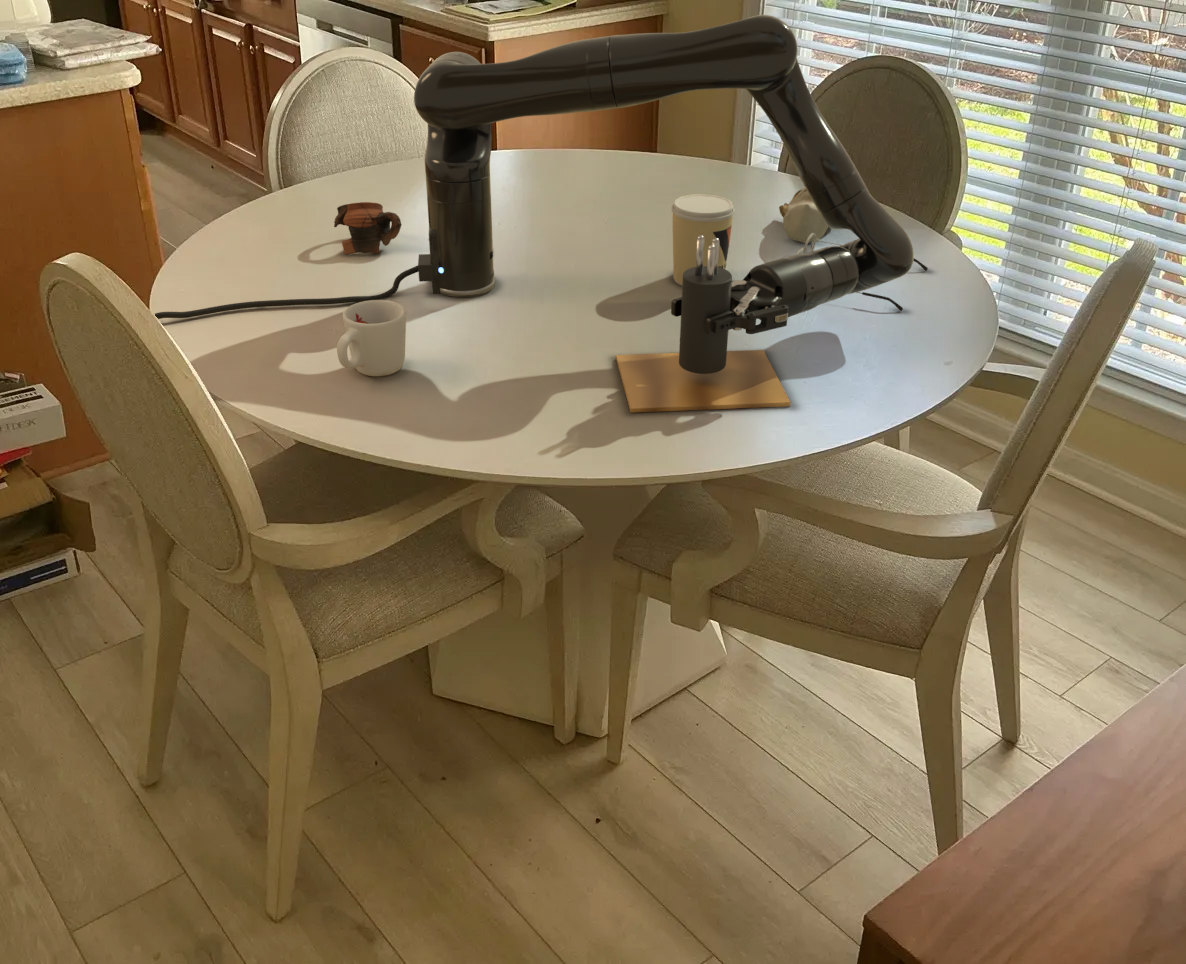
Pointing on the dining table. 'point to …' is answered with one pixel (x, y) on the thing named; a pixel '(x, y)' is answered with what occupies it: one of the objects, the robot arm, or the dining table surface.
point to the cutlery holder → (704, 312)
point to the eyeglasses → (856, 292)
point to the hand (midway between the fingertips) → (690, 317)
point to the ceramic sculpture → (802, 218)
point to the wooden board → (700, 383)
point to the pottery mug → (367, 226)
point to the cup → (373, 337)
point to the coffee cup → (699, 229)
